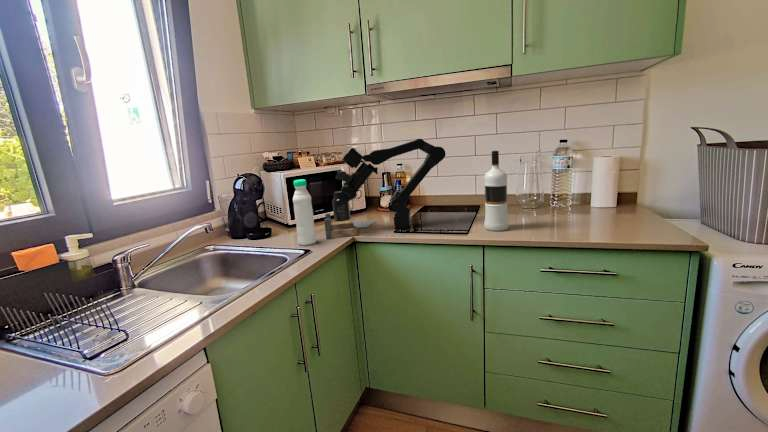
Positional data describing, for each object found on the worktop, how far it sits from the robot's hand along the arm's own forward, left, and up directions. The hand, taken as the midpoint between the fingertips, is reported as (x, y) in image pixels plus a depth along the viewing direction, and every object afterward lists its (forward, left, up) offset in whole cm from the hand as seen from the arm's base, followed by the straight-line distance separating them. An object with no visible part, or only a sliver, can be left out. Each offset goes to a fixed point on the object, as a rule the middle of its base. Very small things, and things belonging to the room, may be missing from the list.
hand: (337, 204), depth 156 cm
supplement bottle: (-1, 0, -7) cm, 7 cm away
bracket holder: (-1, +1, -12) cm, 12 cm away
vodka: (-63, -6, -12) cm, 65 cm away
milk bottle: (+8, +15, -12) cm, 21 cm away
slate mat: (-3, -14, -12) cm, 19 cm away
